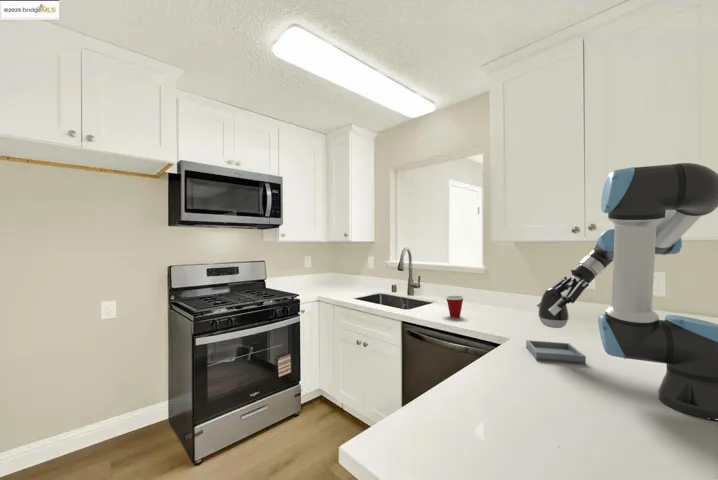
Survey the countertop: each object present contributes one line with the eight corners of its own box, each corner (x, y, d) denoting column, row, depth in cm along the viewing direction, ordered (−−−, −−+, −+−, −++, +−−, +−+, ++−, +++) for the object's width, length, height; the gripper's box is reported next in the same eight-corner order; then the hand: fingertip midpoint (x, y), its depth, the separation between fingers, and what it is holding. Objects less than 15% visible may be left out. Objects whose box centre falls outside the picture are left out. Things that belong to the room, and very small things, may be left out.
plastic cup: (441, 315, 197) (441, 296, 197) (455, 313, 201) (455, 294, 201) (453, 319, 187) (453, 298, 187) (467, 317, 191) (467, 297, 192)
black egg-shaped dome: (539, 328, 123) (538, 288, 123) (538, 322, 132) (537, 285, 132) (570, 331, 118) (569, 290, 118) (567, 325, 127) (566, 287, 128)
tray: (585, 364, 115) (585, 356, 115) (536, 360, 119) (536, 352, 119) (569, 350, 130) (569, 343, 130) (526, 347, 134) (526, 340, 134)
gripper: (613, 280, 113) (567, 323, 114) (577, 274, 135) (538, 311, 136) (597, 265, 114) (551, 308, 115) (564, 262, 136) (525, 298, 137)
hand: (544, 310), depth 126 cm, fingers closed on black egg-shaped dome, 10 cm apart
